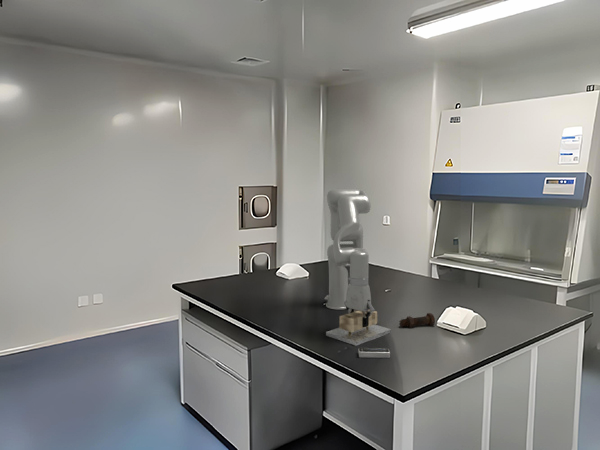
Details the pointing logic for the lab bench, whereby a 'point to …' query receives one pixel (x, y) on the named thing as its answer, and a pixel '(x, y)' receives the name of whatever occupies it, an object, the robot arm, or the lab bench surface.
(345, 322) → the tan rectangular block
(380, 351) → the multiport hub
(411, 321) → the bolt
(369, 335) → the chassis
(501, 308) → the lab bench surface
